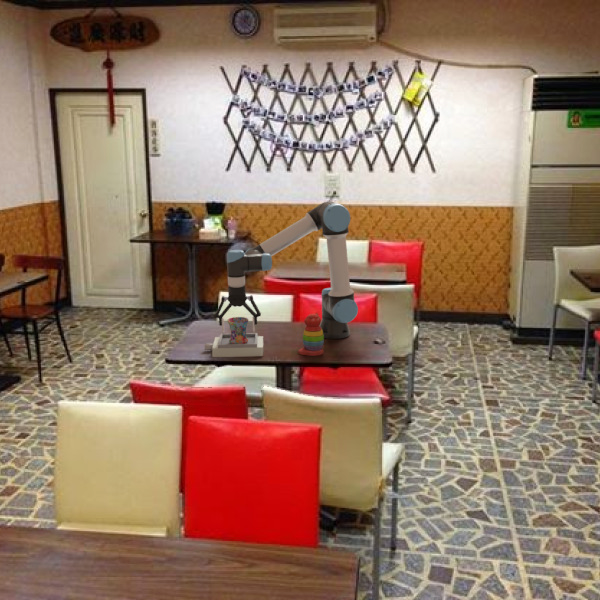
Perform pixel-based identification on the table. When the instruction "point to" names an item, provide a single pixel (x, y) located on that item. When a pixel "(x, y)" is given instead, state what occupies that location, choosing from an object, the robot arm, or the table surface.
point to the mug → (238, 330)
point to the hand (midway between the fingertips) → (238, 332)
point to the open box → (236, 346)
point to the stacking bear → (312, 336)
